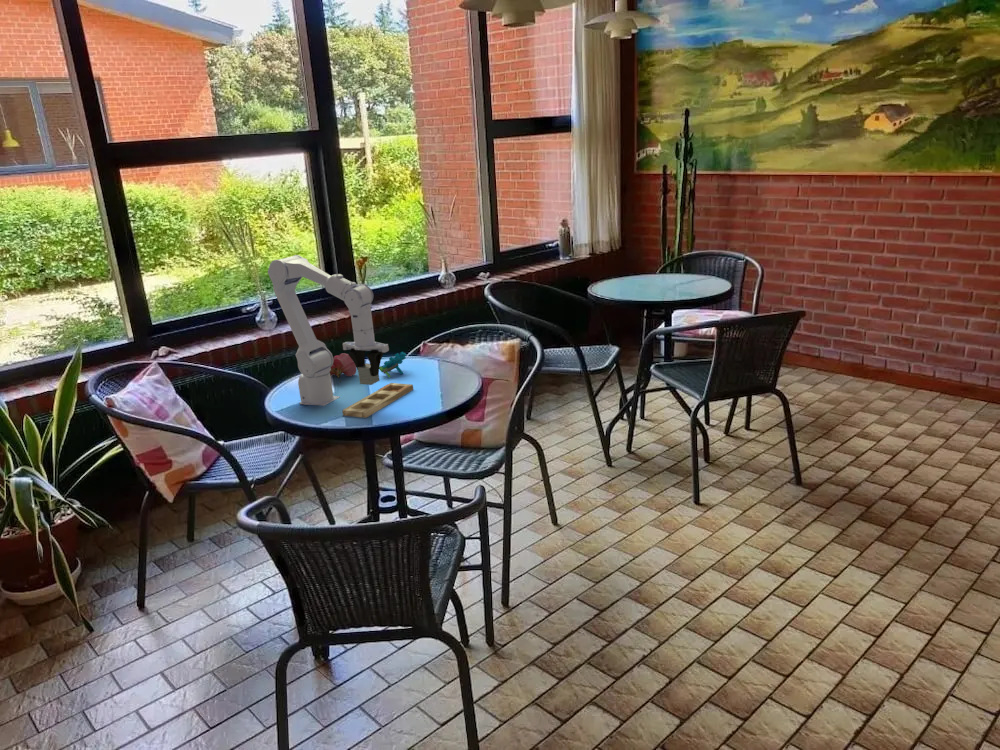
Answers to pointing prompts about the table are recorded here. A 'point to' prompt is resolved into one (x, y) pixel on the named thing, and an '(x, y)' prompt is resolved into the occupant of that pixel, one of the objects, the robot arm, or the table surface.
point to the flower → (343, 365)
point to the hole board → (377, 400)
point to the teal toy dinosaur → (393, 364)
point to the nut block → (367, 375)
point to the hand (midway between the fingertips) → (369, 374)
